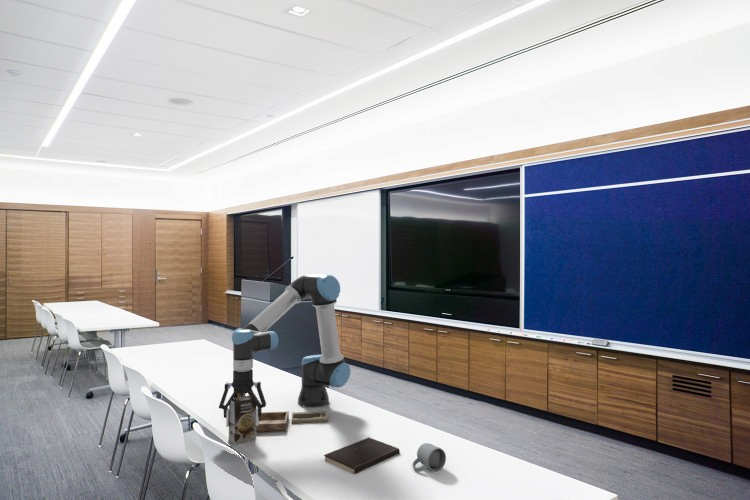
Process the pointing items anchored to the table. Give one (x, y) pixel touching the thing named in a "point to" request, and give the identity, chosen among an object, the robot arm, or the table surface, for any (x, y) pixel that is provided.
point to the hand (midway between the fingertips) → (242, 425)
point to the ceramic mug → (430, 458)
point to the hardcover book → (361, 455)
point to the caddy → (273, 422)
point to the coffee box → (242, 419)
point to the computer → (309, 417)
